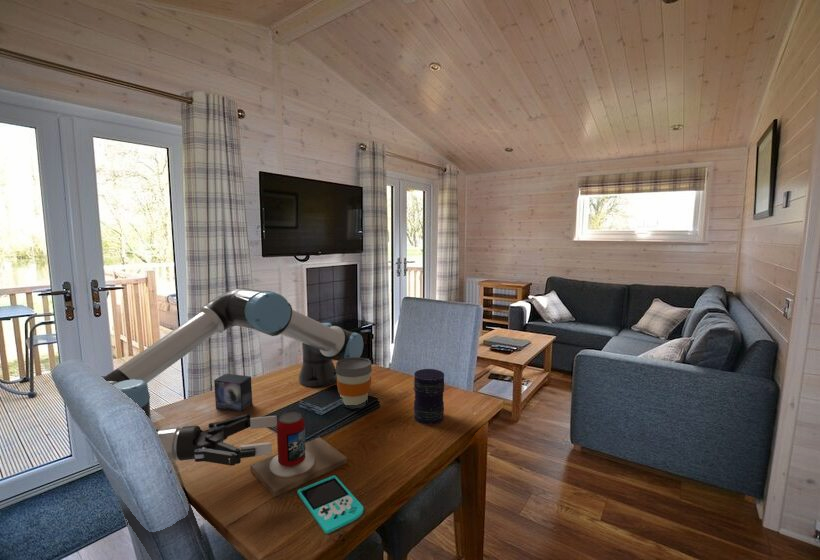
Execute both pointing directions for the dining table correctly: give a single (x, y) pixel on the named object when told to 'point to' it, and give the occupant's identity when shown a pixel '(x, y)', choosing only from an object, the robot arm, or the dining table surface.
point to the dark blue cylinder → (428, 396)
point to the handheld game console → (331, 503)
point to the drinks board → (298, 467)
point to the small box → (233, 392)
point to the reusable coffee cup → (353, 379)
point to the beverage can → (291, 439)
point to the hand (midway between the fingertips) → (274, 433)
